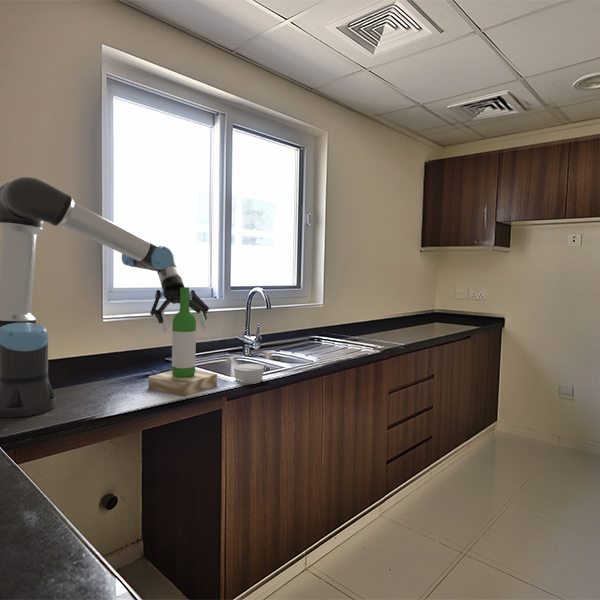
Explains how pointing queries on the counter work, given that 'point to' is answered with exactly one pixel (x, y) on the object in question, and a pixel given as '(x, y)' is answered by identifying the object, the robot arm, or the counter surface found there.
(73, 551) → the counter surface
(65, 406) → the counter surface
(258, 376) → the ramekin
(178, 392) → the birch base
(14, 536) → the counter surface
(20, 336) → the robot arm
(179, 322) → the wine bottle
